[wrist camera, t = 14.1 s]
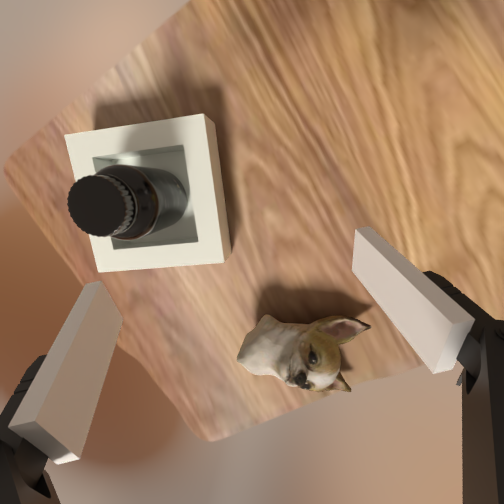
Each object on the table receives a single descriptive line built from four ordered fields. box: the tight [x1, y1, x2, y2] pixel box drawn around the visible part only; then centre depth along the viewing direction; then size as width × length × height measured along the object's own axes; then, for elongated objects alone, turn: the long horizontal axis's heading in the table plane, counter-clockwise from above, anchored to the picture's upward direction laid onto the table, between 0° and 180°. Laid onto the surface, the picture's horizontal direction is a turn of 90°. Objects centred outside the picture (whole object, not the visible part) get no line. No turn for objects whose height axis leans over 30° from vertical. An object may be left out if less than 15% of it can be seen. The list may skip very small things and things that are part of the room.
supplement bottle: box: [67, 164, 187, 241], centre depth 27 cm, size 7×7×12 cm
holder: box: [64, 114, 232, 272], centre depth 31 cm, size 15×15×4 cm
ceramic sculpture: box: [237, 315, 372, 392], centre depth 32 cm, size 11×9×15 cm
